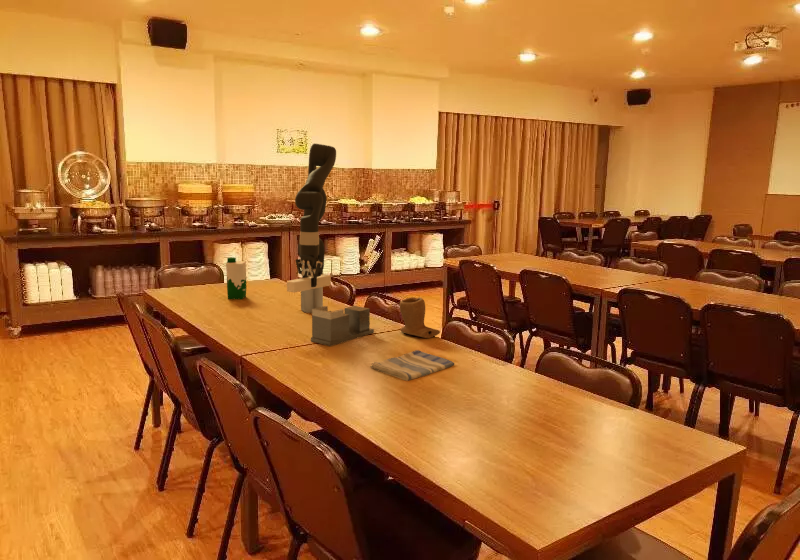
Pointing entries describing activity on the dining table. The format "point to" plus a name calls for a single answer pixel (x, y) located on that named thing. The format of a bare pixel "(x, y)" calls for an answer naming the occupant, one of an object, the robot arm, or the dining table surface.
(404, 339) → the dining table surface
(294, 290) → the rail
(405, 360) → the dish towel
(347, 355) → the dining table surface
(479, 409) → the dining table surface
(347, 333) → the stand
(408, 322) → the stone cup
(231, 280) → the milk carton
